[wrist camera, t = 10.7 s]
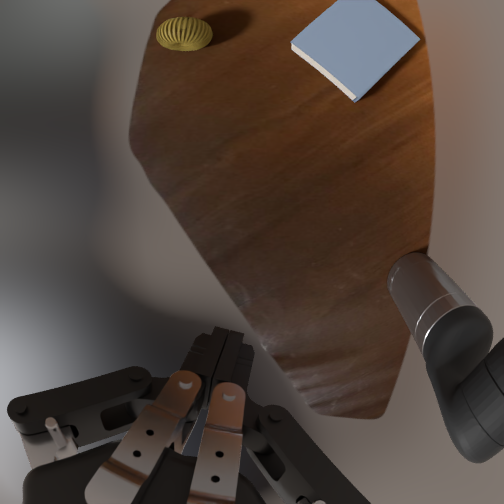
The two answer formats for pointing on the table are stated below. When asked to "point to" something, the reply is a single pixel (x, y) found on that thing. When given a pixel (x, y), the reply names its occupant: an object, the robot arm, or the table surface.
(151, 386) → the robot arm
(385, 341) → the table surface
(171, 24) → the sculpture
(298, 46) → the book
